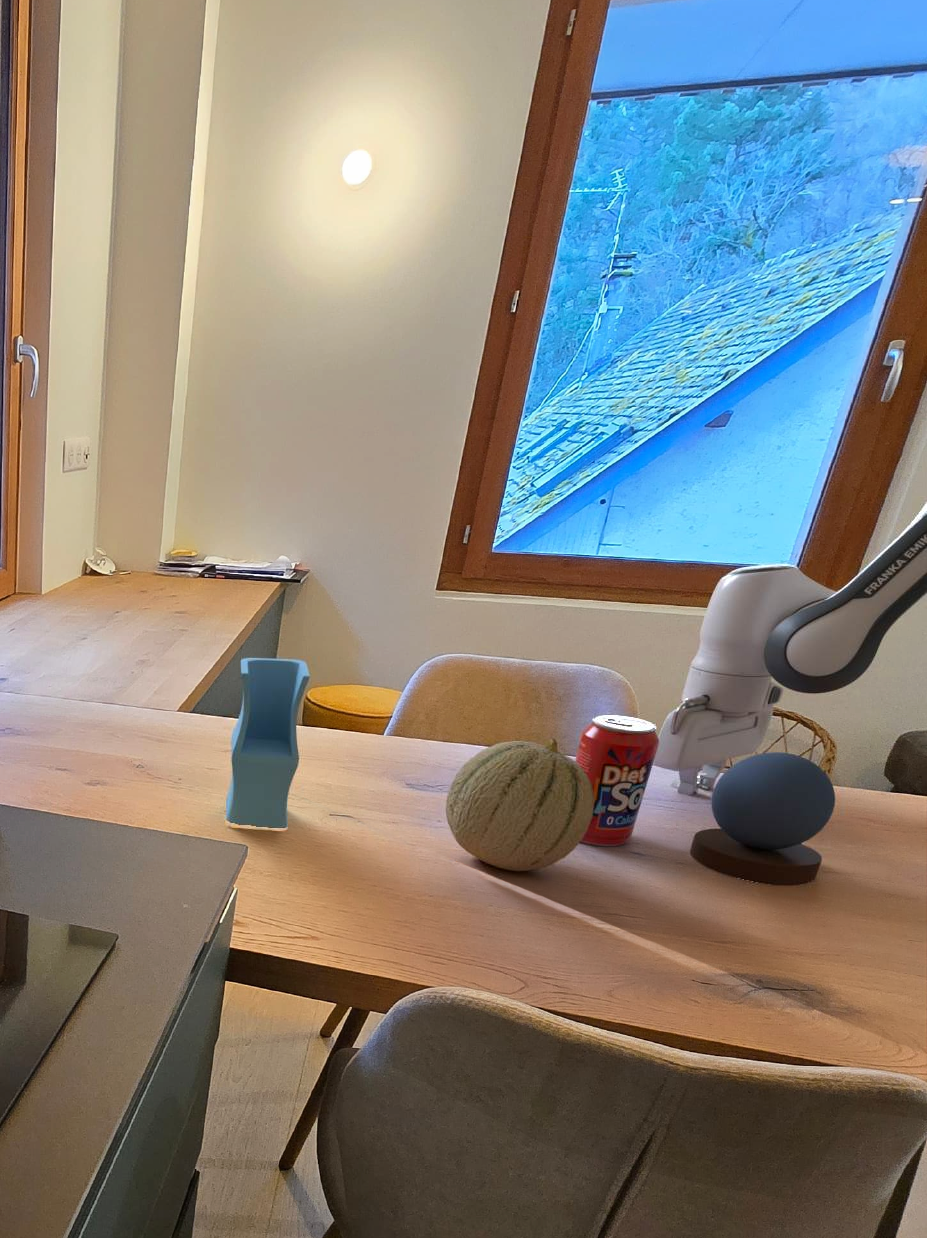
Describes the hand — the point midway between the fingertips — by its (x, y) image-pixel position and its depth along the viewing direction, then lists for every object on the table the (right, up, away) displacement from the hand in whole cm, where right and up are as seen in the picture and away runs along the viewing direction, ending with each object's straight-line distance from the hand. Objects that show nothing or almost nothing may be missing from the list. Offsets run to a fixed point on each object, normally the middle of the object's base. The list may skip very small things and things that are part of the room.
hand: (694, 792), depth 139 cm
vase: (-62, -4, -7) cm, 63 cm away
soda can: (-22, -7, -13) cm, 26 cm away
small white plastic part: (0, -2, +1) cm, 2 cm away
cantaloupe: (-37, -10, -20) cm, 43 cm away
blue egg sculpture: (-8, -10, -20) cm, 24 cm away
